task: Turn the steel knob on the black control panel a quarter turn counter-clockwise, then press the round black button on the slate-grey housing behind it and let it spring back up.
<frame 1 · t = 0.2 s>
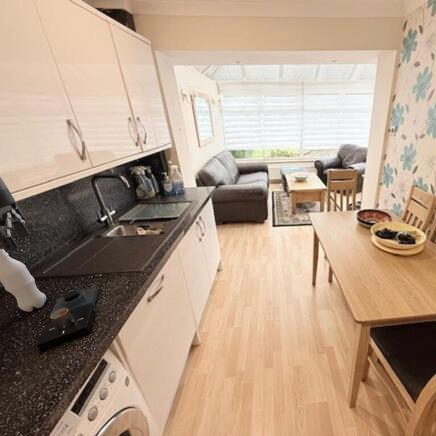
hand: (19, 242, 70), 32 cm above the countertop, tool pointing down, fingers open, 8 cm apart
dial panel: (70, 330, 79), on the countertop
knob: (62, 318, 76), point 6 cm above the countertop, hinge at 0.0°
water bottle: (36, 306, 90), on the countertop
button: (71, 295, 88), point 4 cm above the countertop, slide at 0.1 cm
button box: (77, 304, 90), on the countertop
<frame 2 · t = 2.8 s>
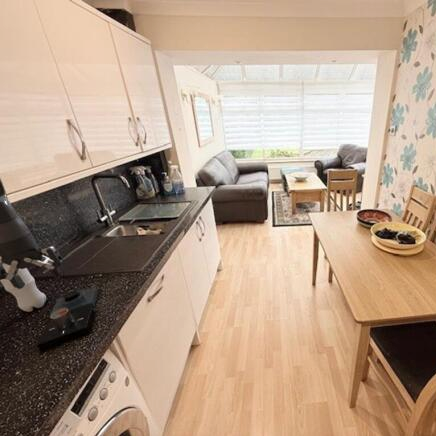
hand: (40, 282, 72), 20 cm above the countertop, tool pointing down, fingers open, 8 cm apart
nothing on the countertop moved.
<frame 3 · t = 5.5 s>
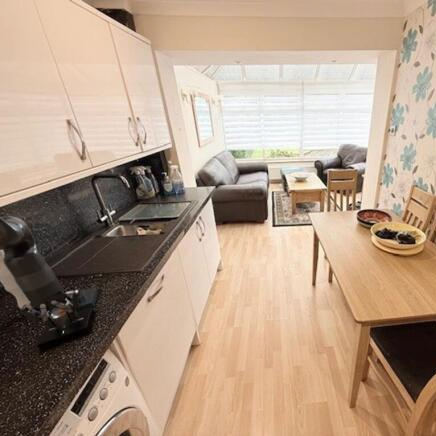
hand: (65, 322, 77), 4 cm above the countertop, tool pointing down, fingers closed on knob, 4 cm apart
knob: (62, 318, 76), point 6 cm above the countertop, hinge at 0.0°, touching gripper
everything else where it was.
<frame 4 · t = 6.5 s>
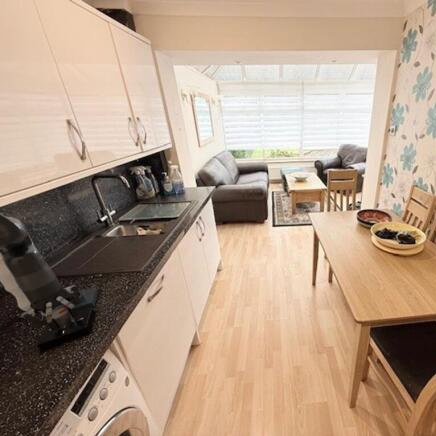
hand: (65, 322, 77), 4 cm above the countertop, tool pointing down, fingers closed on knob, 4 cm apart
knob: (62, 318, 76), point 6 cm above the countertop, hinge at 39.4°, touching gripper
everything else where it was.
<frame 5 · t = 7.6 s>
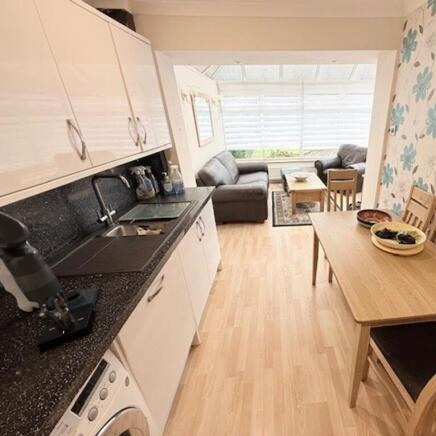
hand: (64, 322, 77), 4 cm above the countertop, tool pointing down, fingers closed on knob, 4 cm apart
knob: (62, 318, 76), point 6 cm above the countertop, hinge at 93.7°, touching gripper
everything else where it was.
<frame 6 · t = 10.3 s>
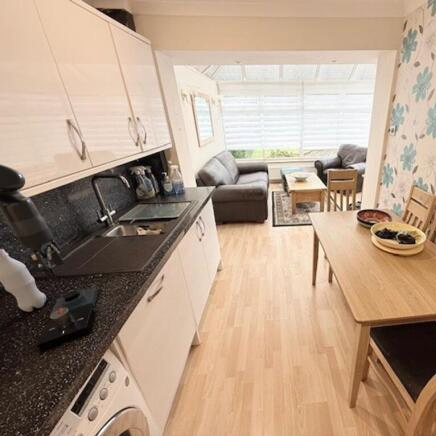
hand: (56, 270, 83), 16 cm above the countertop, tool pointing down, fingers open, 8 cm apart
knob: (62, 318, 76), point 6 cm above the countertop, hinge at 93.3°
everything else where it was.
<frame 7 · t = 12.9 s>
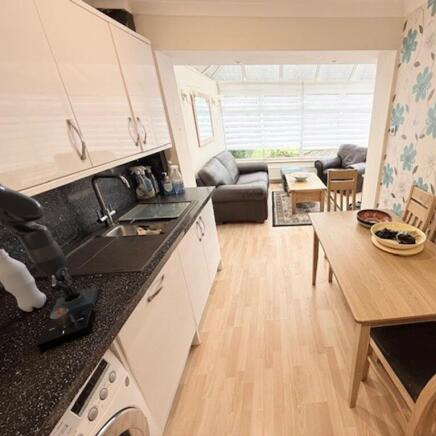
hand: (71, 294, 87), 5 cm above the countertop, tool pointing down, fingers closed
button: (71, 296, 88), point 4 cm above the countertop, slide at -0.2 cm, touching gripper
everything else where it was.
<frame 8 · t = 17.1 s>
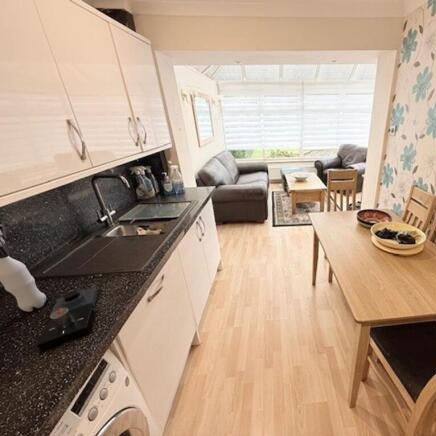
hand: (5, 256, 72), 27 cm above the countertop, tool pointing down, fingers closed
button: (71, 295, 88), point 4 cm above the countertop, slide at 0.1 cm
everything else where it was.
at the end: knob at +93° (first picture: +0°); button pushed in 1.1 cm at the most during the clip, back to where it started at the end; button slide at 0.1 cm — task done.
